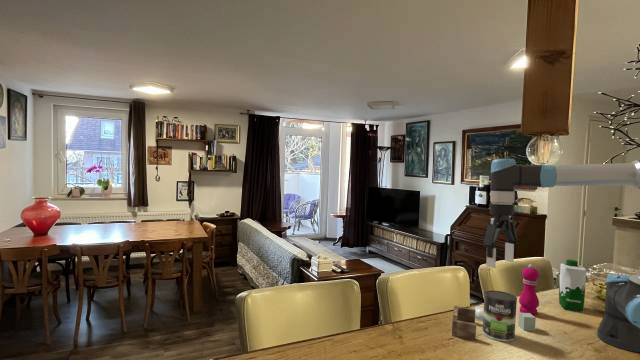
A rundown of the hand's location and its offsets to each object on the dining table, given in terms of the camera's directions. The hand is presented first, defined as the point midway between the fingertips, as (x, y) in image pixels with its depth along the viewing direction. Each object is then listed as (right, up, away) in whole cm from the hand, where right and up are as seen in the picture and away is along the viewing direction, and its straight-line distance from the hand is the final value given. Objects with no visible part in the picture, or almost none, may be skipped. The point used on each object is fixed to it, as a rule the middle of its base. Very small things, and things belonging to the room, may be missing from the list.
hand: (500, 264), depth 127 cm
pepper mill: (+22, -25, +22) cm, 40 cm away
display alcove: (-11, -24, +4) cm, 27 cm away
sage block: (+13, -25, +7) cm, 29 cm away
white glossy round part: (+1, -25, +15) cm, 29 cm away
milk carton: (+45, -26, +29) cm, 59 cm away
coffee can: (-1, -25, 0) cm, 25 cm away
